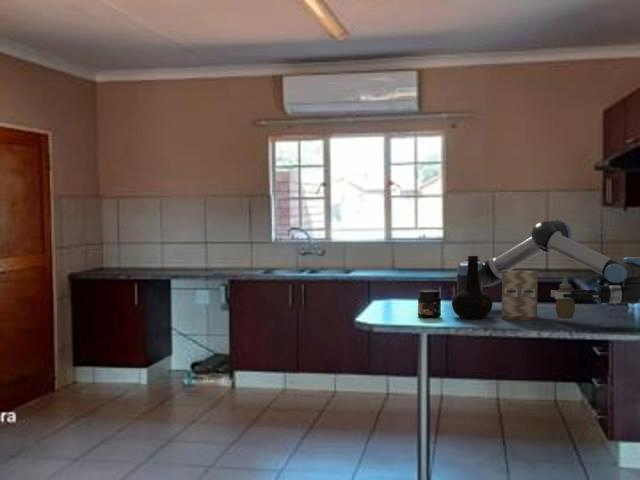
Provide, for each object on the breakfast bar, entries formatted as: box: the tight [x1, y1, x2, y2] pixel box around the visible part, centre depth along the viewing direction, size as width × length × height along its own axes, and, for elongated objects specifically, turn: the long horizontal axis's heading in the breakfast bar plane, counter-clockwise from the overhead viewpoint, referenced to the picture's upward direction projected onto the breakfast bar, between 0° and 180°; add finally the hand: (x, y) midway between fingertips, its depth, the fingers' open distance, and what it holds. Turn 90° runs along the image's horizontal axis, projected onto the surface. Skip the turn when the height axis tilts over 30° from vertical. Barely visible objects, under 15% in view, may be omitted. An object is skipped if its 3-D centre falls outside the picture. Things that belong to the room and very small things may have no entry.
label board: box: [501, 270, 538, 321], centre depth 334 cm, size 15×6×22 cm, turn 77°
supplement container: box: [417, 289, 442, 319], centre depth 342 cm, size 10×10×12 cm
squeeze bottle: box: [555, 275, 576, 320], centre depth 321 cm, size 8×8×18 cm
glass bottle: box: [451, 255, 494, 320], centre depth 339 cm, size 18×18×28 cm
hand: (553, 294), depth 321 cm, fingers closed on squeeze bottle, 6 cm apart
